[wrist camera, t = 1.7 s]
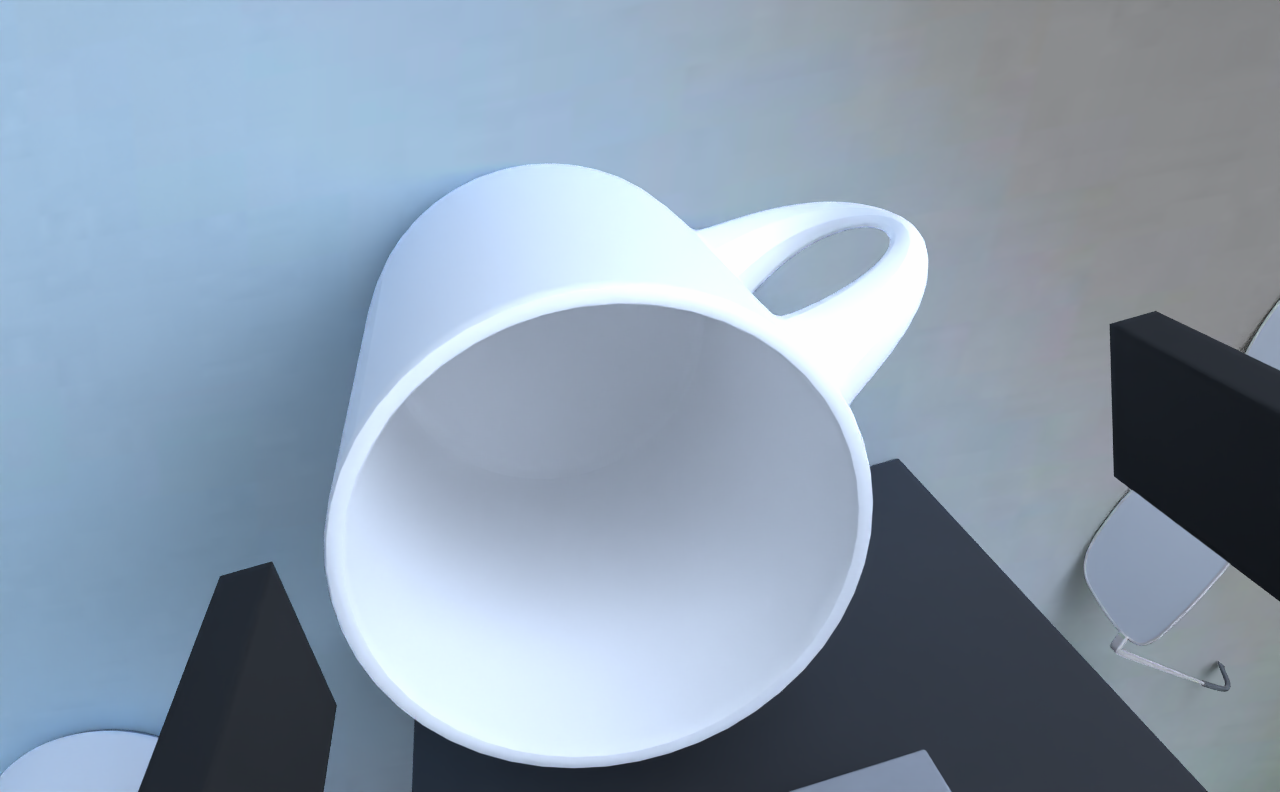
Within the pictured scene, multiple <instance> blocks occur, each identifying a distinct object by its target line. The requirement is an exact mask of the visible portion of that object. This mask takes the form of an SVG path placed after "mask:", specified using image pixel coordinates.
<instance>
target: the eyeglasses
mask: <svg viewBox="0 0 1280 792" xmlns="http://www.w3.org/2000/svg"><path fill="white" fill-rule="evenodd" d="M1245 354H1247V355H1249V356H1251V357H1253V358H1255V359H1257V360H1259V361H1261V362H1263V363H1265V364H1267V365H1270V366H1272V367H1274V368H1276V369H1278V370H1280V300H1279V301H1278V302H1277V304H1276V305H1275V306H1274V307H1273V309H1272V310H1271V312H1270V313H1269V314H1268V316H1267V317H1266V319H1265V320H1264V322H1263V323H1262V325H1261V327H1260V328H1259V330H1258V331H1257V333H1256V334H1255V336H1254V338H1253V340H1252V342H1251V343H1250V345H1249V347H1248V349H1247V351H1246V353H1245ZM1229 565H1230V563H1228V562H1227V561H1226V560H1224V559H1223V558H1222V557H1220V556H1219V555H1218V554H1216V553H1215V552H1214V551H1212V550H1211V549H1210V548H1208V547H1207V546H1206V545H1204V544H1203V543H1202V542H1200V541H1199V540H1198V539H1197V538H1195V537H1194V536H1193V535H1191V534H1190V533H1189V532H1187V531H1186V530H1185V529H1183V528H1182V527H1181V526H1179V525H1178V524H1177V523H1175V522H1174V521H1173V520H1171V519H1170V518H1169V517H1167V516H1166V515H1165V514H1163V513H1162V512H1161V511H1159V510H1158V509H1157V508H1155V507H1154V506H1153V505H1151V504H1150V503H1149V502H1148V501H1146V500H1145V499H1144V498H1142V497H1141V496H1140V495H1138V494H1137V493H1136V492H1134V491H1133V490H1131V491H1130V492H1129V493H1128V494H1127V495H1126V496H1125V497H1124V498H1123V499H1122V500H1121V501H1120V503H1119V504H1118V505H1117V506H1116V507H1115V509H1114V510H1113V511H1112V512H1111V514H1110V515H1109V516H1108V518H1107V519H1106V520H1105V522H1104V523H1103V525H1102V526H1101V527H1100V529H1099V530H1098V532H1097V533H1096V535H1095V536H1094V538H1093V540H1092V542H1091V543H1090V545H1089V548H1088V550H1087V552H1086V555H1085V559H1084V576H1085V580H1086V582H1087V585H1088V587H1089V589H1090V591H1091V592H1092V594H1093V596H1094V597H1095V599H1096V601H1097V602H1098V604H1099V605H1100V607H1101V608H1102V610H1103V611H1104V613H1105V614H1106V616H1107V617H1108V618H1109V620H1110V621H1111V622H1112V624H1113V625H1114V626H1115V627H1116V628H1117V630H1118V631H1119V633H1118V635H1117V636H1116V637H1115V638H1114V640H1113V641H1112V643H1111V645H1110V647H1111V648H1112V649H1113V650H1114V652H1115V653H1116V654H1118V655H1120V656H1122V657H1124V658H1127V659H1130V660H1132V661H1135V662H1138V663H1141V664H1144V665H1147V666H1150V667H1153V668H1156V669H1158V670H1161V671H1164V672H1167V673H1170V674H1173V675H1176V676H1179V677H1181V678H1184V679H1187V680H1190V681H1193V682H1196V683H1199V684H1201V685H1202V686H1204V687H1207V688H1210V689H1214V690H1218V691H1224V692H1225V691H1228V690H1229V689H1230V681H1229V678H1228V676H1227V673H1226V671H1225V669H1224V666H1223V665H1222V664H1221V663H1220V662H1219V661H1218V665H1219V668H1220V670H1221V673H1222V675H1223V678H1224V680H1225V686H1218V685H1215V684H1212V683H1209V682H1206V681H1200V680H1198V679H1195V678H1193V677H1190V676H1188V675H1185V674H1183V673H1180V672H1178V671H1175V670H1173V669H1170V668H1168V667H1165V666H1163V665H1160V664H1158V663H1155V662H1153V661H1150V660H1148V659H1145V658H1143V657H1140V656H1138V655H1135V654H1133V653H1130V652H1128V651H1125V650H1123V649H1121V648H1122V647H1123V646H1124V644H1125V643H1126V642H1127V640H1129V641H1131V642H1132V643H1134V644H1136V645H1139V646H1145V645H1148V644H1151V643H1153V642H1154V641H1156V640H1158V639H1159V638H1161V637H1162V636H1163V635H1164V634H1166V633H1167V632H1168V631H1169V630H1170V629H1171V628H1172V627H1173V626H1174V625H1175V624H1176V623H1177V622H1178V621H1179V620H1180V619H1181V618H1182V617H1183V616H1184V615H1185V614H1186V613H1187V612H1188V611H1189V610H1190V609H1191V608H1192V607H1193V606H1194V605H1195V604H1196V603H1197V602H1198V601H1199V600H1200V599H1201V597H1202V596H1203V595H1204V594H1205V593H1206V592H1207V591H1208V590H1209V589H1210V587H1211V586H1212V585H1213V584H1214V583H1215V582H1216V581H1217V580H1218V578H1219V577H1220V576H1221V575H1222V574H1223V572H1224V571H1225V570H1226V569H1227V568H1228V566H1229Z"/></svg>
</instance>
